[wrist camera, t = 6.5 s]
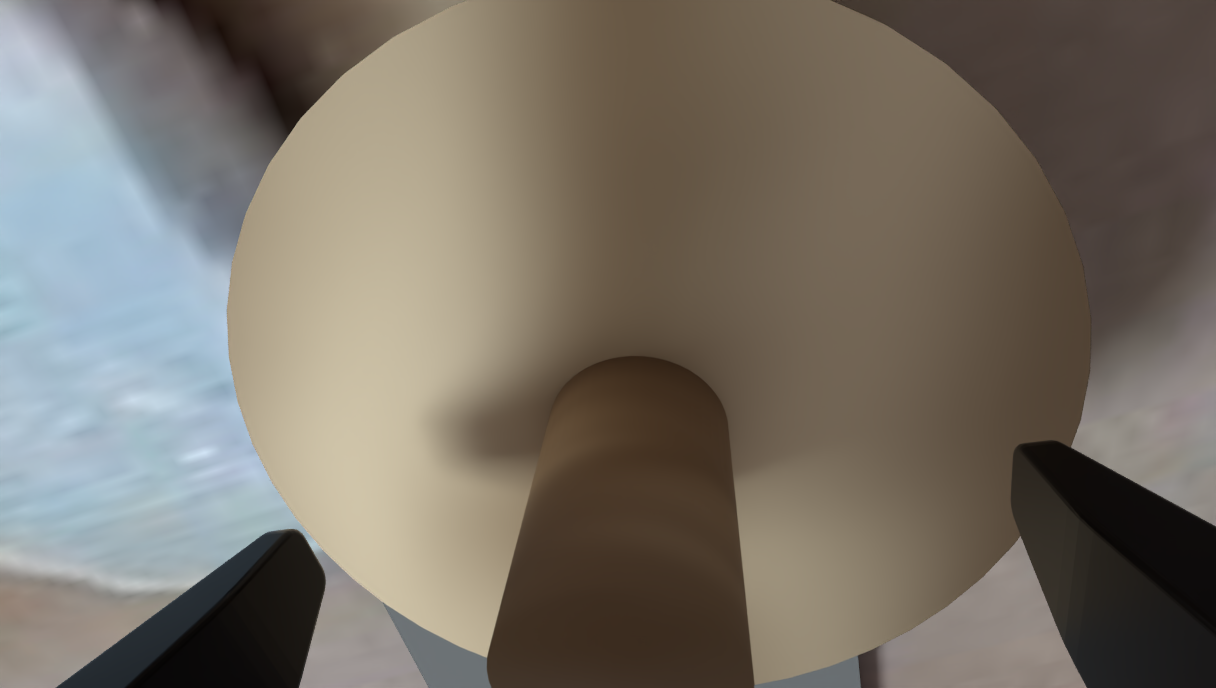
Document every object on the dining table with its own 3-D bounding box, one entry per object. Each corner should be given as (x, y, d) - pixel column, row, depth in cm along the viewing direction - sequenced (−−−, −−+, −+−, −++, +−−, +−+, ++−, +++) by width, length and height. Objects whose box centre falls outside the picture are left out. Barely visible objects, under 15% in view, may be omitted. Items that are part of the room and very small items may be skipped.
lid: (1105, -171, 7) (1684, -305, 3) (1037, 628, 13) (1207, 958, 9) (97, 91, 9) (-359, 222, 5) (417, 675, 15) (320, 958, 11)
